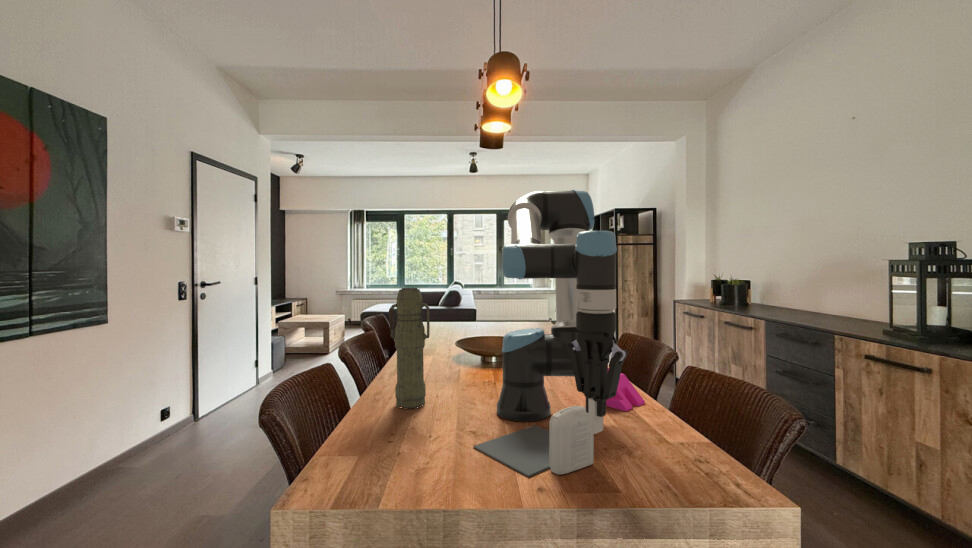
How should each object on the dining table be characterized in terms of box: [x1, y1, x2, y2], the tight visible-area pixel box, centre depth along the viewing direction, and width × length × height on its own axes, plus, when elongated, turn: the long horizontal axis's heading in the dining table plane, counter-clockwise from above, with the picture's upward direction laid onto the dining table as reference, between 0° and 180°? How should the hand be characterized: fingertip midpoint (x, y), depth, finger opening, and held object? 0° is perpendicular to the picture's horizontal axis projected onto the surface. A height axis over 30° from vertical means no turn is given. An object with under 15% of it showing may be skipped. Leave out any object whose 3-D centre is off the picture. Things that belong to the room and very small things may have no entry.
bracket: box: [606, 367, 646, 412], centre depth 130 cm, size 12×10×10 cm
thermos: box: [388, 287, 431, 409], centre depth 129 cm, size 9×12×35 cm
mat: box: [472, 424, 551, 478], centre depth 98 cm, size 18×20×1 cm
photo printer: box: [548, 405, 595, 476], centre depth 89 cm, size 10×4×12 cm, turn 123°
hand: (595, 430), depth 84 cm, fingers closed
